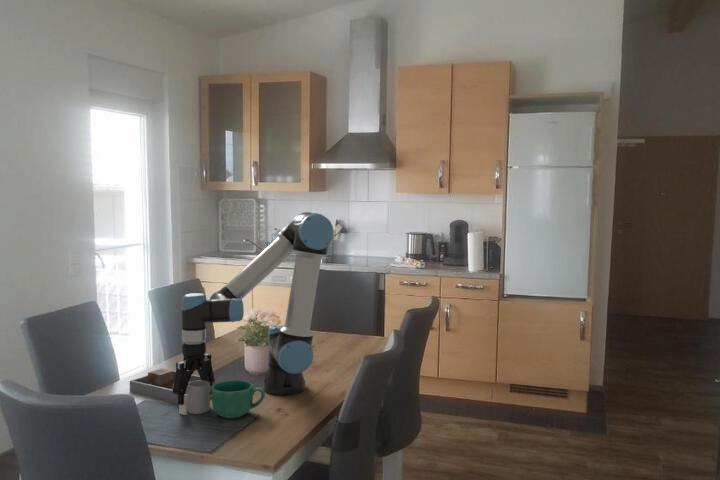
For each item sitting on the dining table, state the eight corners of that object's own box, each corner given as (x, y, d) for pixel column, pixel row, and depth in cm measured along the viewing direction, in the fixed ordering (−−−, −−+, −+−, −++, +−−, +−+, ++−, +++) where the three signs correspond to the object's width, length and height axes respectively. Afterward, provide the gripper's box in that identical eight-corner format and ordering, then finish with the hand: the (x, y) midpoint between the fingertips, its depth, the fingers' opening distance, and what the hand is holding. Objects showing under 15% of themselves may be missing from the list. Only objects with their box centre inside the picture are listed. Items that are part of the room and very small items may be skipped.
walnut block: (173, 387, 223) (172, 370, 223) (160, 391, 218) (160, 375, 218) (161, 384, 226) (160, 368, 226) (148, 388, 221) (147, 372, 220)
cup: (202, 415, 197) (202, 388, 197) (175, 412, 200) (174, 385, 199) (213, 407, 204) (213, 381, 204) (186, 404, 207) (186, 378, 206)
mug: (207, 421, 192) (207, 391, 192) (217, 407, 205) (217, 379, 204) (260, 422, 192) (260, 392, 191) (267, 408, 204) (267, 380, 204)
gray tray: (215, 391, 221) (215, 379, 221) (180, 405, 206) (179, 392, 206) (166, 380, 232) (166, 369, 232) (129, 393, 218) (129, 380, 217)
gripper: (208, 333, 212) (209, 397, 214) (159, 347, 193) (160, 417, 194) (225, 336, 208) (225, 401, 210) (177, 350, 189) (177, 422, 191)
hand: (194, 409), depth 202 cm, fingers open, 9 cm apart
